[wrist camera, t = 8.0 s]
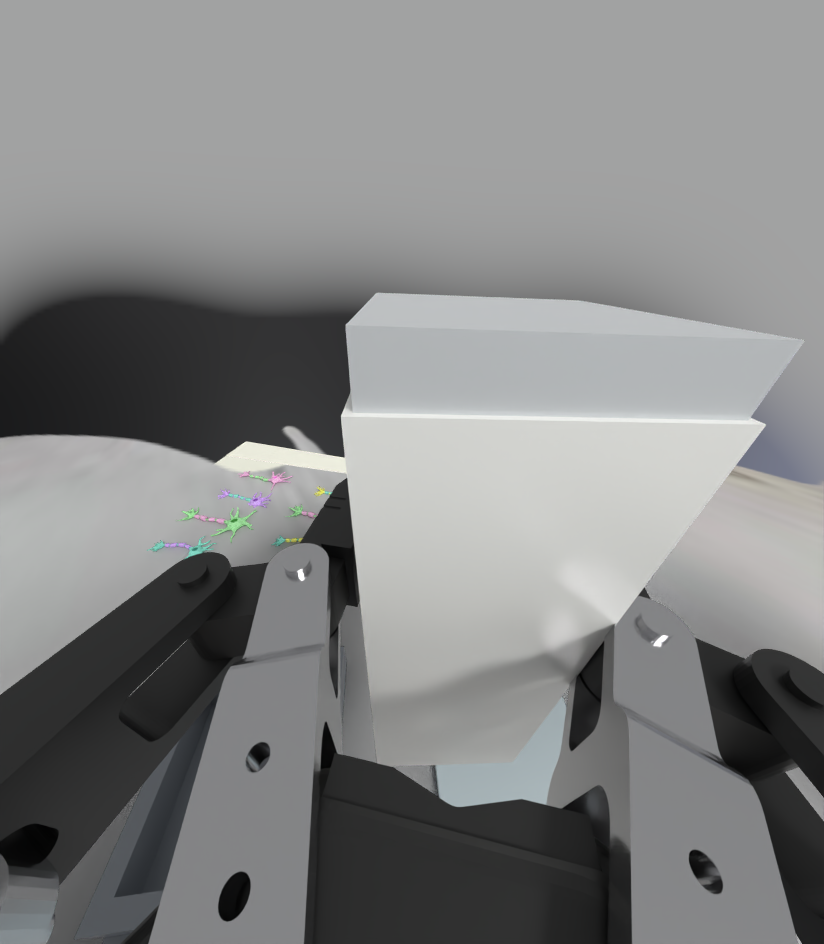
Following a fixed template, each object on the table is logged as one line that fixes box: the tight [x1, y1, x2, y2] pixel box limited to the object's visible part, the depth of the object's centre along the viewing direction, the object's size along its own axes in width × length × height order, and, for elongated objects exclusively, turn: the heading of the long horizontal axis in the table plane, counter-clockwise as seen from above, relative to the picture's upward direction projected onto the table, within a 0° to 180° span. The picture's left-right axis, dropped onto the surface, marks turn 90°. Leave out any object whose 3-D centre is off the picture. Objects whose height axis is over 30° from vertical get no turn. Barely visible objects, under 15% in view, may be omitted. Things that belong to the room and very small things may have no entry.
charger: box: [341, 293, 804, 767], centre depth 8 cm, size 4×4×13 cm
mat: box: [435, 697, 567, 807], centre depth 18 cm, size 9×9×1 cm
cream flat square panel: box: [147, 442, 347, 559], centre depth 33 cm, size 30×30×2 cm
